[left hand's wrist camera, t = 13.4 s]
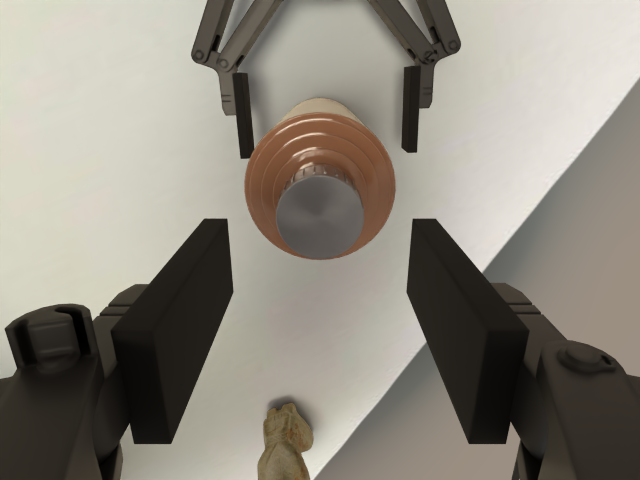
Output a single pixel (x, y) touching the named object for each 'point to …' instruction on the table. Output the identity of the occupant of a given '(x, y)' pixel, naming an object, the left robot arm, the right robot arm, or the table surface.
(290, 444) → the sculpture
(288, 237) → the cap
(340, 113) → the bottle
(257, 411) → the table surface
